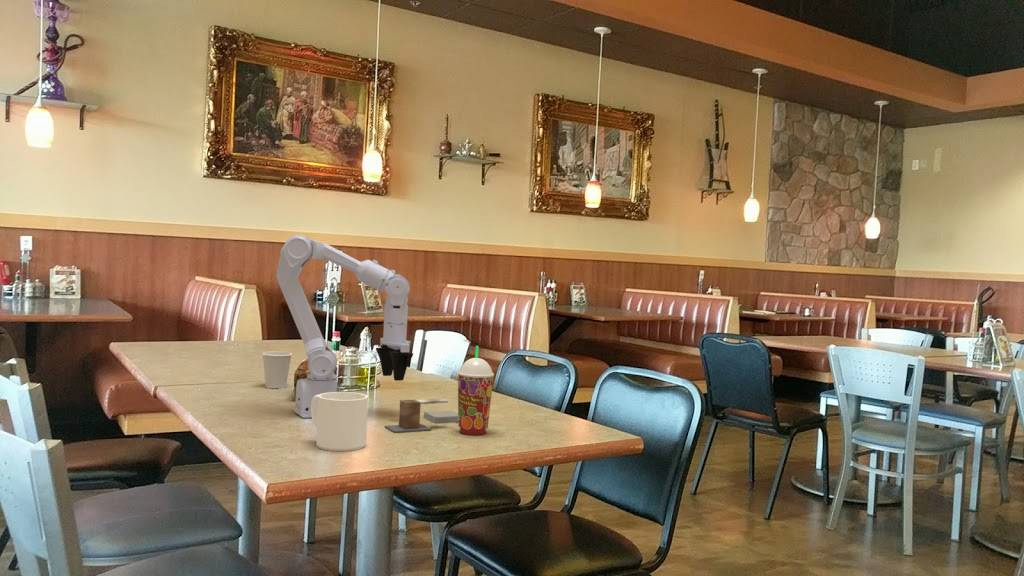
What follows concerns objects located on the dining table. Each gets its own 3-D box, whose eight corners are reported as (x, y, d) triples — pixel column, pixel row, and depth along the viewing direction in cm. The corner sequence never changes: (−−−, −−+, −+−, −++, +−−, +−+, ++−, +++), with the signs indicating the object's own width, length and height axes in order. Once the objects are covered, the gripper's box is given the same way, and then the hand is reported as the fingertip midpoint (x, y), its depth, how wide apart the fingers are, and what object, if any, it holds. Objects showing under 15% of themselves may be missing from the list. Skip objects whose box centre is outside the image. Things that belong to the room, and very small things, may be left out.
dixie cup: (254, 386, 225) (256, 352, 224) (280, 384, 231) (281, 350, 231) (271, 390, 219) (272, 355, 219) (296, 388, 226) (298, 353, 225)
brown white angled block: (404, 429, 177) (406, 403, 176) (398, 426, 180) (400, 400, 180) (447, 426, 182) (448, 401, 182) (441, 423, 185) (442, 398, 185)
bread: (300, 390, 223) (301, 356, 223) (338, 391, 224) (339, 357, 224) (291, 402, 204) (293, 364, 204) (332, 403, 206) (334, 366, 206)
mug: (375, 444, 163) (377, 395, 163) (347, 454, 154) (349, 402, 153) (325, 436, 168) (327, 388, 167) (295, 445, 159) (297, 395, 158)
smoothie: (448, 433, 177) (453, 345, 176) (463, 426, 184) (467, 343, 184) (482, 438, 174) (487, 349, 173) (496, 431, 182) (500, 346, 181)
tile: (435, 417, 187) (463, 415, 190) (424, 411, 193) (451, 410, 197) (435, 425, 187) (463, 423, 191) (423, 419, 193) (451, 418, 197)
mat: (394, 433, 174) (394, 431, 174) (384, 427, 179) (384, 425, 179) (431, 430, 179) (431, 428, 179) (420, 425, 184) (420, 423, 184)
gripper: (422, 326, 188) (419, 381, 189) (399, 321, 201) (396, 373, 201) (394, 326, 185) (392, 382, 185) (373, 320, 197) (370, 373, 198)
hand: (392, 378), depth 193 cm, fingers open, 7 cm apart
